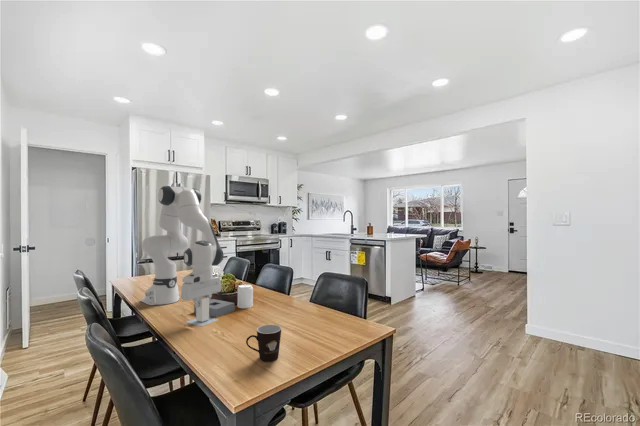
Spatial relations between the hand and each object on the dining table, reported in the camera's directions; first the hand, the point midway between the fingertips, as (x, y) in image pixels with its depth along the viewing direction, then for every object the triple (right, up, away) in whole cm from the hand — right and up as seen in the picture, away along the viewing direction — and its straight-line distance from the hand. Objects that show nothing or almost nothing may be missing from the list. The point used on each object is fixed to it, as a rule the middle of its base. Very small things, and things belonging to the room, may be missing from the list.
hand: (202, 305), depth 139 cm
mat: (0, -8, 0) cm, 8 cm away
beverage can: (+14, -9, +23) cm, 29 cm away
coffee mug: (+36, -8, -35) cm, 51 cm away
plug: (0, -7, 0) cm, 7 cm away
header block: (+1, -8, +14) cm, 16 cm away
